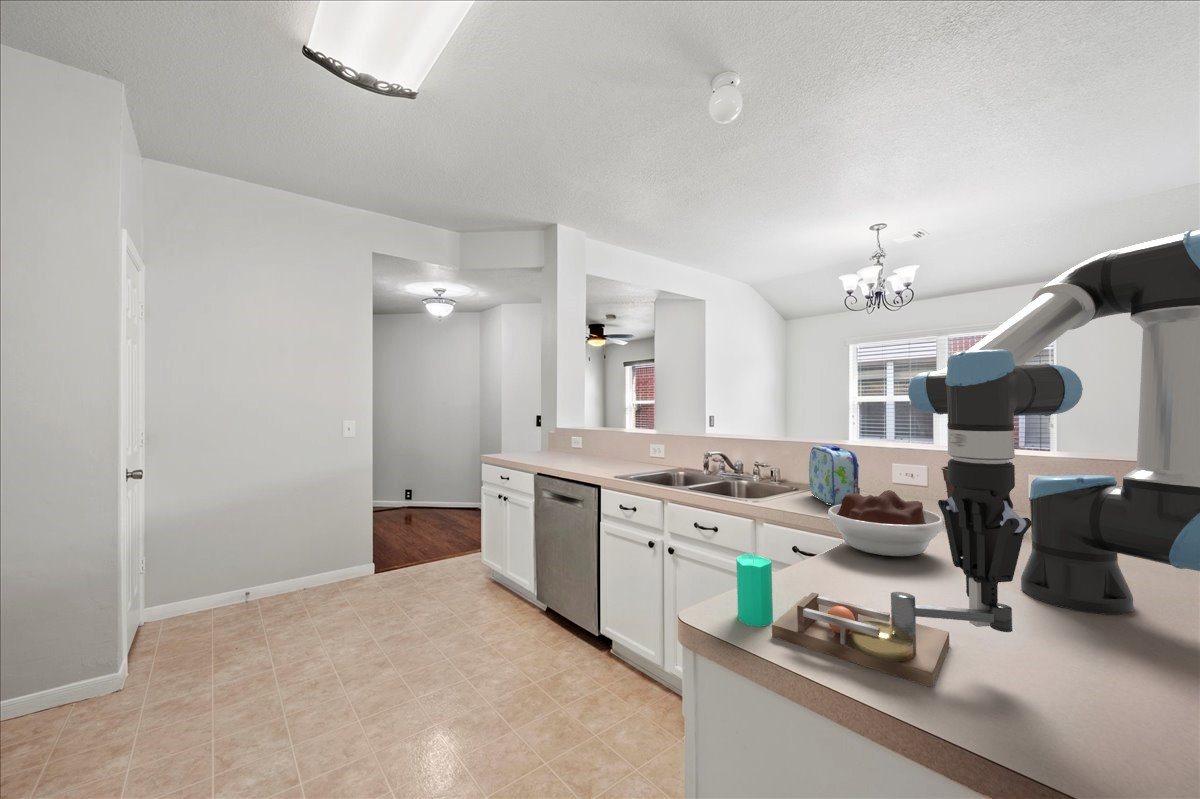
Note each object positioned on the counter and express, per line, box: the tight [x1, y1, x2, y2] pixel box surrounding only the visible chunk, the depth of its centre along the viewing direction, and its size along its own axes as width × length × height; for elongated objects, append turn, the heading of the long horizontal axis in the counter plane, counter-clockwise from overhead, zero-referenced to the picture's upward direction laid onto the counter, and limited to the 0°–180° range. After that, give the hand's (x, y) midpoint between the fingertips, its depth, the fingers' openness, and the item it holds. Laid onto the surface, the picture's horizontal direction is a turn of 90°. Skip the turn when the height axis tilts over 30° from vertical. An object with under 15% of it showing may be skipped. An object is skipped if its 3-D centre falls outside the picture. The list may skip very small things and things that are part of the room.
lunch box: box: [808, 444, 861, 506], centre depth 180 cm, size 26×11×21 cm, turn 174°
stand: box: [771, 591, 950, 689], centre depth 78 cm, size 22×15×6 cm
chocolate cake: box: [827, 489, 945, 557], centre depth 122 cm, size 25×25×15 cm
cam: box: [850, 591, 1013, 661], centre depth 69 cm, size 10×19×8 cm, turn 55°
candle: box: [735, 550, 774, 627], centre depth 86 cm, size 6×6×12 cm
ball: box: [828, 606, 855, 634], centre depth 76 cm, size 4×4×4 cm
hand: (982, 624), depth 69 cm, fingers closed
